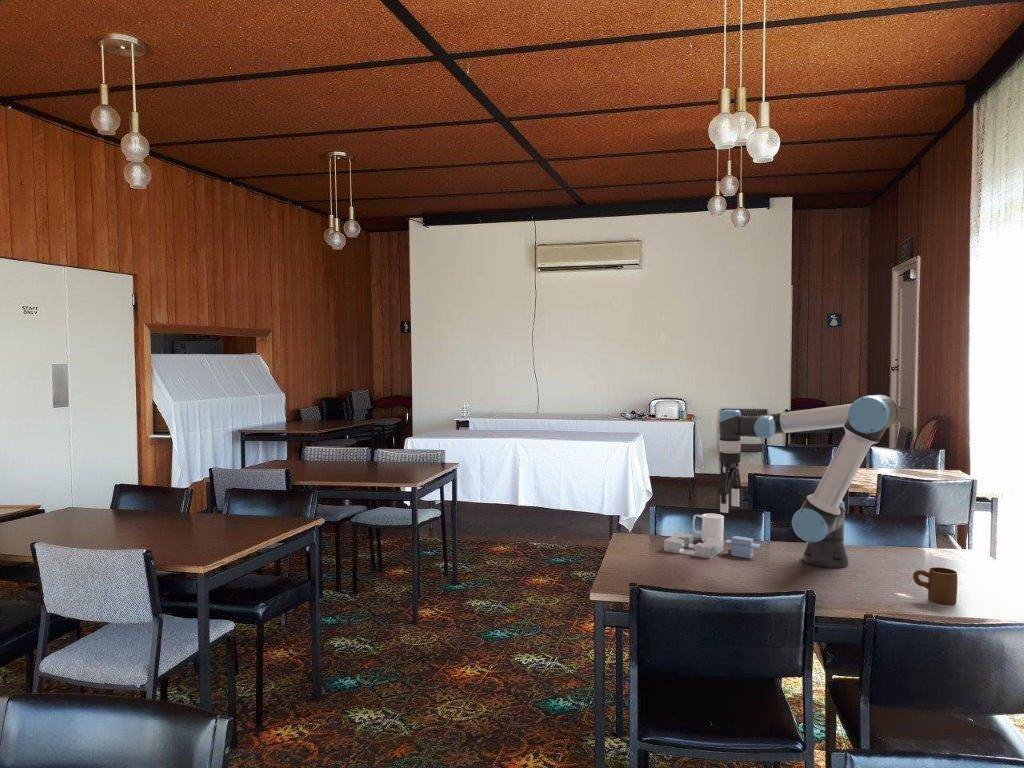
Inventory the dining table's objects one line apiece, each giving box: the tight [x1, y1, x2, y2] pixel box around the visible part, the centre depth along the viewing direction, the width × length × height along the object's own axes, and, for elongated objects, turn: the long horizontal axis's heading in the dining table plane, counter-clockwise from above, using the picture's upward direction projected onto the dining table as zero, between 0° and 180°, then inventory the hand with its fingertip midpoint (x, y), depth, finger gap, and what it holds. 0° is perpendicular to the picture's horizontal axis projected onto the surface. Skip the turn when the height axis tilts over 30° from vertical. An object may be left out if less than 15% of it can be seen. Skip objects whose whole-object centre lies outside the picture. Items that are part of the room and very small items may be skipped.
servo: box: [724, 535, 761, 559], centre depth 275 cm, size 12×4×6 cm, turn 56°
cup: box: [692, 513, 725, 542], centre depth 297 cm, size 8×12×10 cm
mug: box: [912, 566, 958, 606], centre depth 227 cm, size 12×8×9 cm, turn 76°
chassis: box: [663, 532, 725, 560], centre depth 282 cm, size 18×14×4 cm
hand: (729, 509), depth 276 cm, fingers open, 13 cm apart
